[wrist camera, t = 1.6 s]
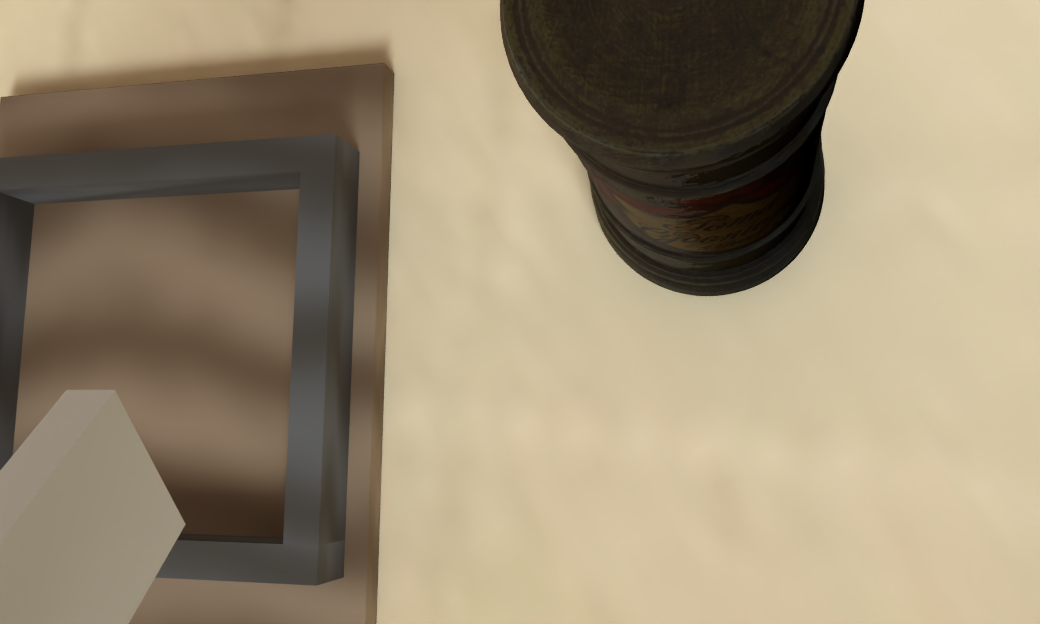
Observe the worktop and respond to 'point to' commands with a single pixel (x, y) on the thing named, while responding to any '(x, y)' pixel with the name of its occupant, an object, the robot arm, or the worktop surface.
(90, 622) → the robot arm
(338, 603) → the holder
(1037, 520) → the worktop surface
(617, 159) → the container
